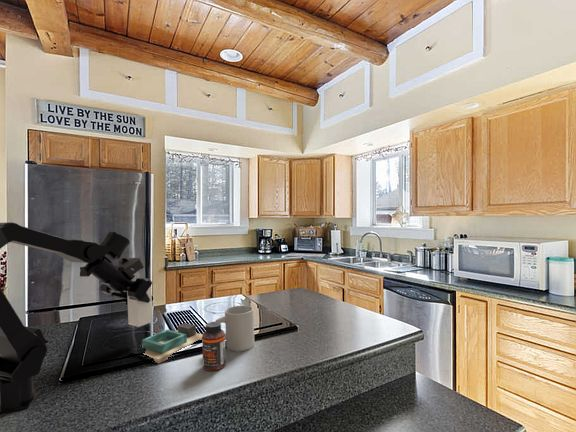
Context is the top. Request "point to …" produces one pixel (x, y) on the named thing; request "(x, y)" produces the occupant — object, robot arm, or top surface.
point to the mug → (238, 328)
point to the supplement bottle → (213, 347)
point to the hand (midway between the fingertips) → (143, 300)
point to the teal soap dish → (170, 342)
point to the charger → (140, 311)
